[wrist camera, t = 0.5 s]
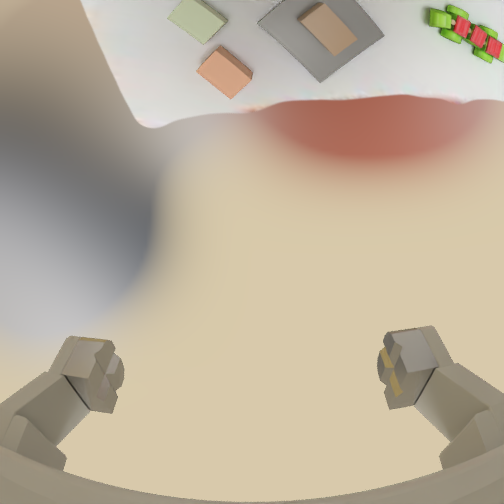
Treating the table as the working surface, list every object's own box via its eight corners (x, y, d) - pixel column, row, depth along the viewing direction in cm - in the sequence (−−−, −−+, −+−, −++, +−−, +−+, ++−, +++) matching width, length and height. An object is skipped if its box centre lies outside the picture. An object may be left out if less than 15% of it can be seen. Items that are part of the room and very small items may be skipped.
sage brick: (194, -5, 34) (187, -5, 31) (228, 20, 38) (224, 23, 34) (175, 15, 37) (166, 18, 33) (208, 40, 40) (203, 44, 37)
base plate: (324, -30, 30) (332, -33, 26) (382, 34, 37) (396, 40, 33) (257, 22, 38) (256, 26, 34) (319, 81, 45) (325, 92, 41)
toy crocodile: (506, 42, 31) (526, 51, 27) (497, 69, 36) (515, 80, 32) (425, -7, 30) (443, -5, 26) (416, 25, 35) (433, 30, 31)
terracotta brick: (220, 45, 41) (216, 50, 37) (252, 72, 44) (251, 80, 41) (201, 64, 43) (195, 71, 40) (233, 90, 47) (230, 99, 43)
